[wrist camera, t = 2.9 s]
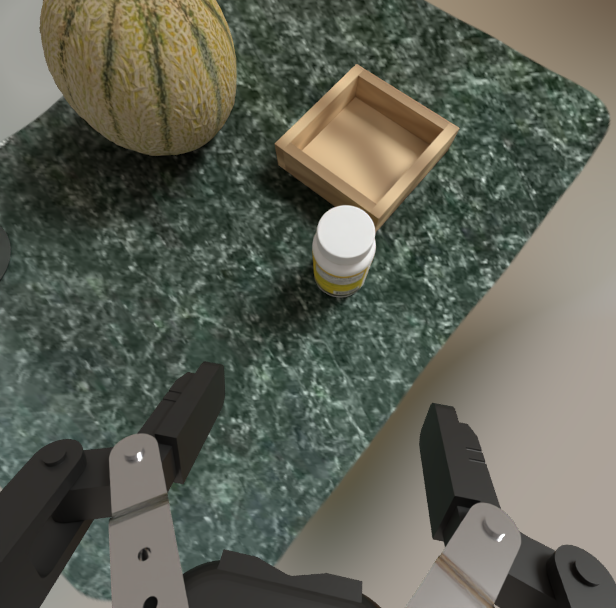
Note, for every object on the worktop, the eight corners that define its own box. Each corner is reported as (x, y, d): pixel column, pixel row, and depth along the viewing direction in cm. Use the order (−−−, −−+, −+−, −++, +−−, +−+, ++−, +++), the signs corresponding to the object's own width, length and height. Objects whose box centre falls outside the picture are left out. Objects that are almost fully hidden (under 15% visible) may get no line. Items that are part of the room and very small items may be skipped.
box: (373, 234, 32) (378, 218, 30) (278, 164, 35) (274, 143, 32) (447, 150, 35) (459, 128, 32) (353, 90, 37) (356, 63, 34)
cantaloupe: (84, 126, 37) (-67, -50, 22) (192, 50, 39) (119, -155, 25) (168, 216, 34) (55, 78, 19) (280, 127, 36) (255, -55, 22)
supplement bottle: (333, 240, 32) (338, 187, 24) (375, 267, 32) (395, 222, 24) (303, 279, 32) (297, 238, 23) (346, 308, 31) (355, 276, 23)
